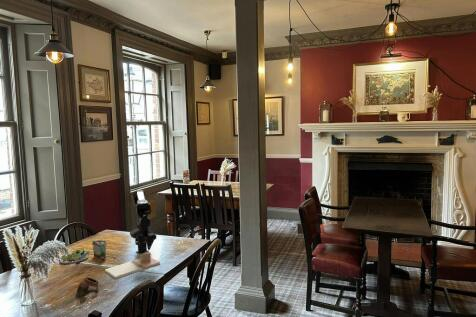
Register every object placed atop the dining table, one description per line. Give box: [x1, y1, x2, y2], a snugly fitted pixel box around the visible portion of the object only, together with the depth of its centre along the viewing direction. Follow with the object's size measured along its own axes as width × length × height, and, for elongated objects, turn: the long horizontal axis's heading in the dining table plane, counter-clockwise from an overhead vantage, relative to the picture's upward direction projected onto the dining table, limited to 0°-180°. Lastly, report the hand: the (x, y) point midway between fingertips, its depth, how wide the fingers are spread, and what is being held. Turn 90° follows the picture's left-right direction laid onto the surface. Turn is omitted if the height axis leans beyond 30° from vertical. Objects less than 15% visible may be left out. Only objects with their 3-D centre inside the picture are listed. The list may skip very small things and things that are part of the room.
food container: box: [91, 239, 108, 261], centre depth 219 cm, size 12×6×10 cm, turn 47°
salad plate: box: [59, 247, 90, 265], centre depth 217 cm, size 19×18×5 cm
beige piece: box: [131, 251, 161, 270], centre depth 207 cm, size 14×11×6 cm
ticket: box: [104, 261, 143, 280], centre depth 197 cm, size 14×16×1 cm
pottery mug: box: [76, 277, 100, 297], centre depth 170 cm, size 12×10×8 cm
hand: (145, 248), depth 206 cm, fingers open, 9 cm apart
